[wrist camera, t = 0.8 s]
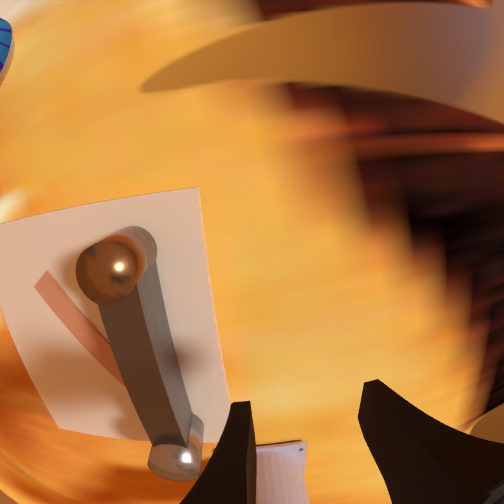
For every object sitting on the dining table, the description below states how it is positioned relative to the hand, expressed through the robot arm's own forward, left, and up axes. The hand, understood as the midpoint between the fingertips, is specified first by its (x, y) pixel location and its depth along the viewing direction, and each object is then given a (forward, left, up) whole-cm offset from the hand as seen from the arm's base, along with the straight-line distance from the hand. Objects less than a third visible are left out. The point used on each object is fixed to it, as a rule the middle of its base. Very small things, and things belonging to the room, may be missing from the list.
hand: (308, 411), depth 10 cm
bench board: (-2, +13, -9) cm, 16 cm away
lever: (-2, +8, -8) cm, 12 cm away
